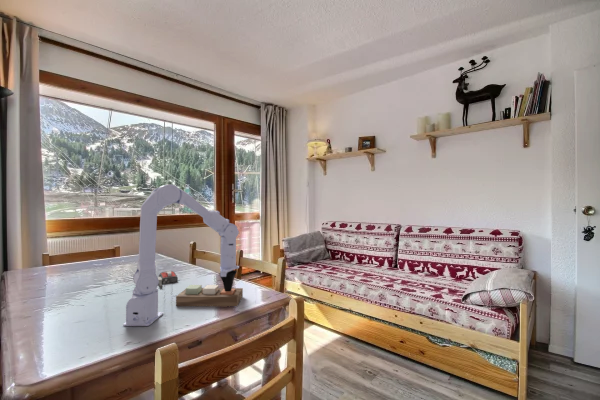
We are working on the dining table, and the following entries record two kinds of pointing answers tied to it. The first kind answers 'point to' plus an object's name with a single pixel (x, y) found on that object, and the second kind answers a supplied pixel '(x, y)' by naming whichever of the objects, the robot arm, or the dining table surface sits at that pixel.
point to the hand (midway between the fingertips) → (228, 290)
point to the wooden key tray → (209, 299)
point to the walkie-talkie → (167, 277)
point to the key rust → (228, 292)
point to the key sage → (193, 289)
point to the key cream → (210, 289)
